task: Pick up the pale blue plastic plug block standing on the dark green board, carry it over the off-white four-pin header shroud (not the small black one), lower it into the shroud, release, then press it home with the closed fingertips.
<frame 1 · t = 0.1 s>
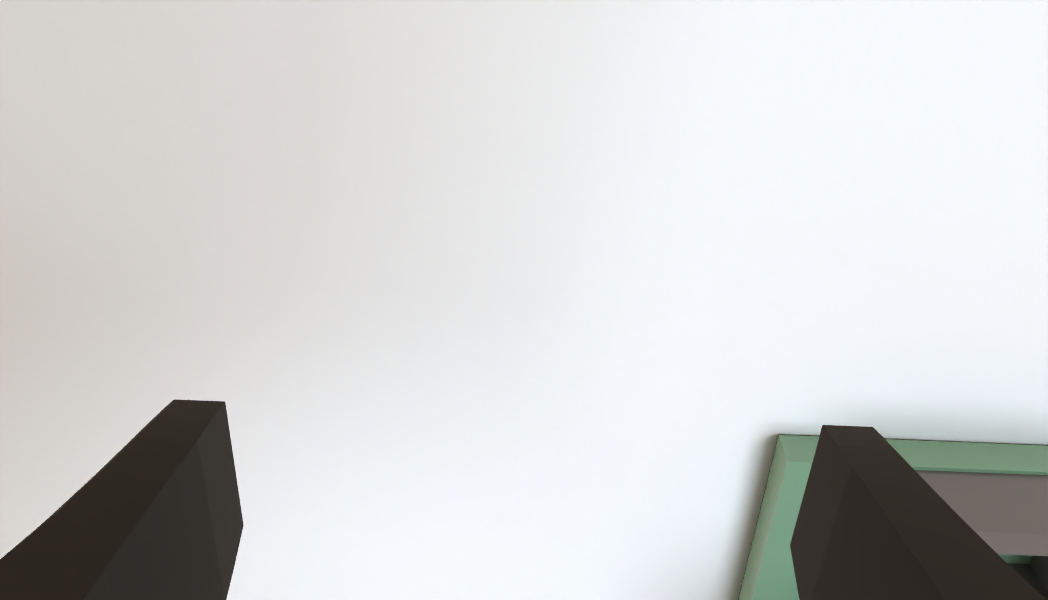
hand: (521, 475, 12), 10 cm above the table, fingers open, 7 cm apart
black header: (967, 528, 25), resting on board
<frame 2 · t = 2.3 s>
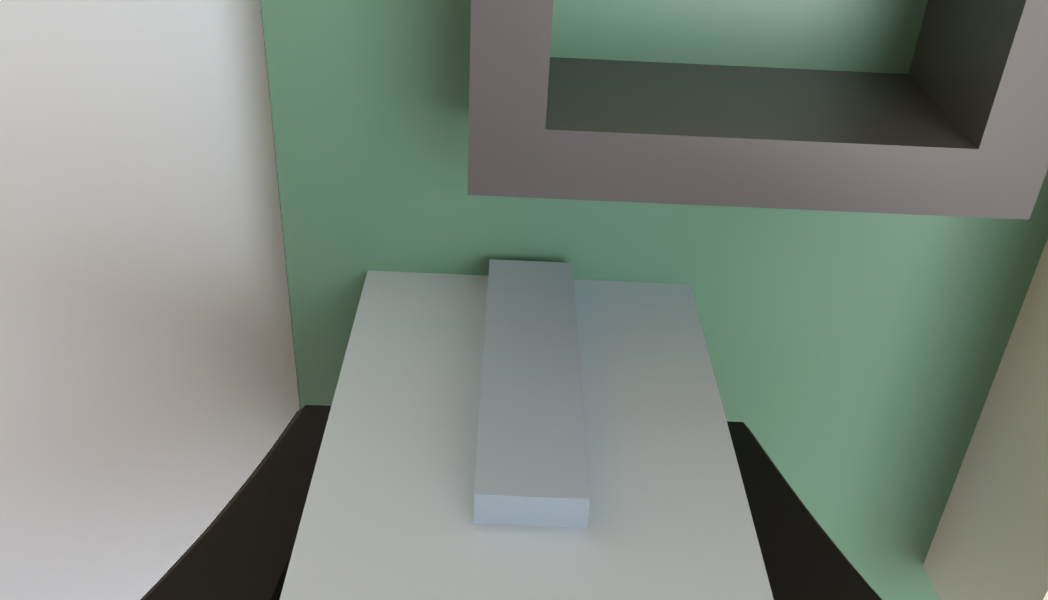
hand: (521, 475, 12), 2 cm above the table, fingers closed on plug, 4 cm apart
plug: (522, 404, 13), point 1 cm above the table, touching board, gripper
board: (948, 256, 13), on the table
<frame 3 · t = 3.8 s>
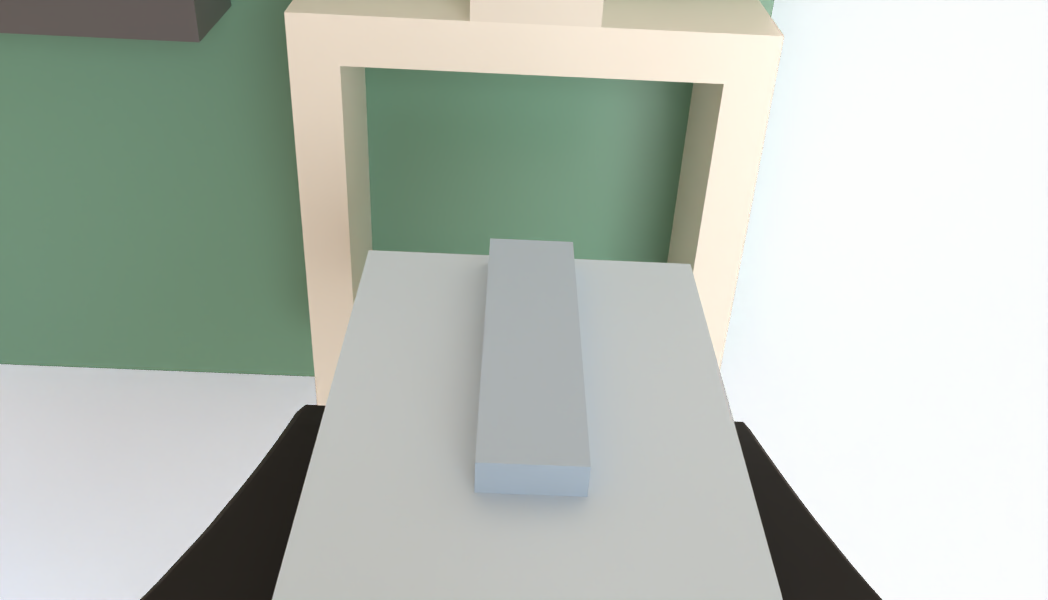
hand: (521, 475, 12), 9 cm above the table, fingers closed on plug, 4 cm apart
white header: (524, 179, 19), resting on board
plug: (522, 385, 13), point 8 cm above the table, touching gripper
board: (302, 100, 19), on the table
when the fingers open (4 cm above the table, at t = 5.1 s): plug drops 1 cm, resting on board.
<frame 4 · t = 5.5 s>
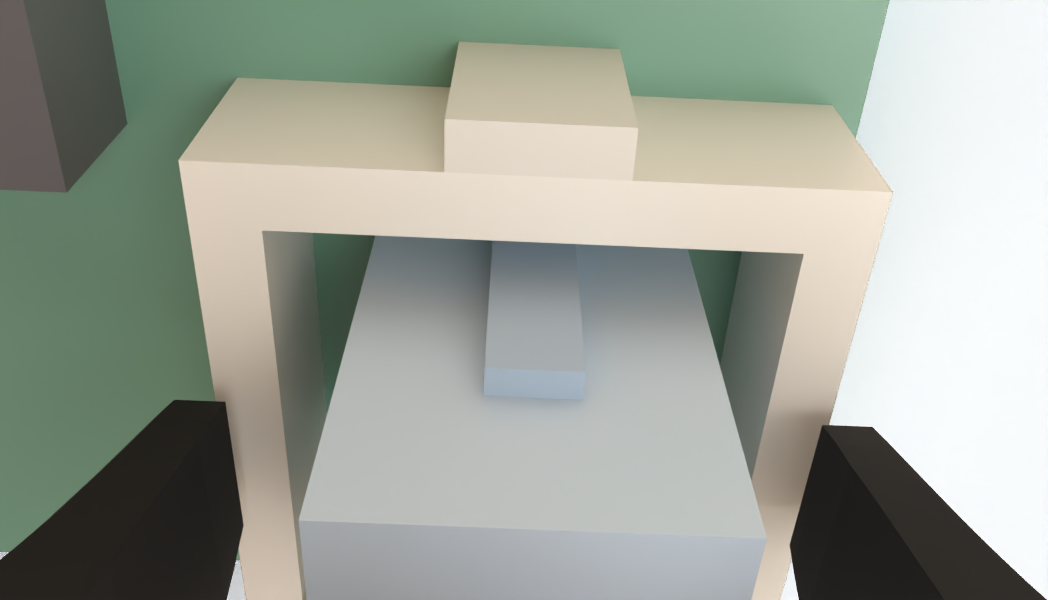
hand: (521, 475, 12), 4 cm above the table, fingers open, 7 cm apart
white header: (523, 336, 15), resting on board
plug: (524, 327, 15), point 1 cm above the table, touching board
board: (234, 231, 15), on the table
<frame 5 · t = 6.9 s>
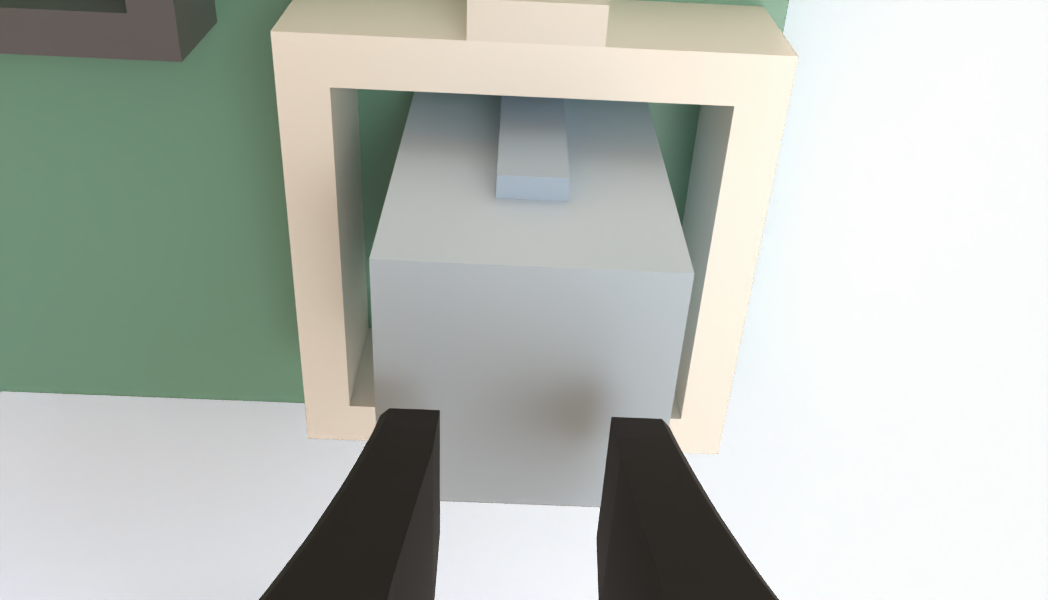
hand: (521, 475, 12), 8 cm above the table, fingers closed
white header: (524, 201, 18), resting on board
plug: (525, 193, 18), point 1 cm above the table, touching board
board: (293, 119, 19), on the table
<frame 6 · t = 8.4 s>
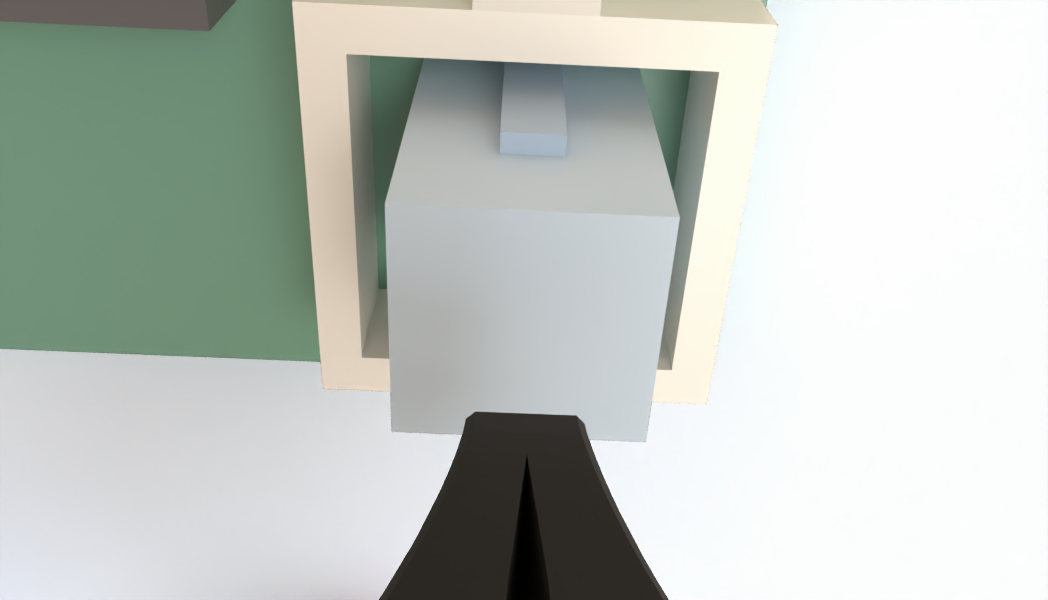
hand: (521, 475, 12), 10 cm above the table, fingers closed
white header: (525, 167, 20), resting on board
plug: (526, 159, 19), point 1 cm above the table, touching board
board: (308, 90, 20), on the table
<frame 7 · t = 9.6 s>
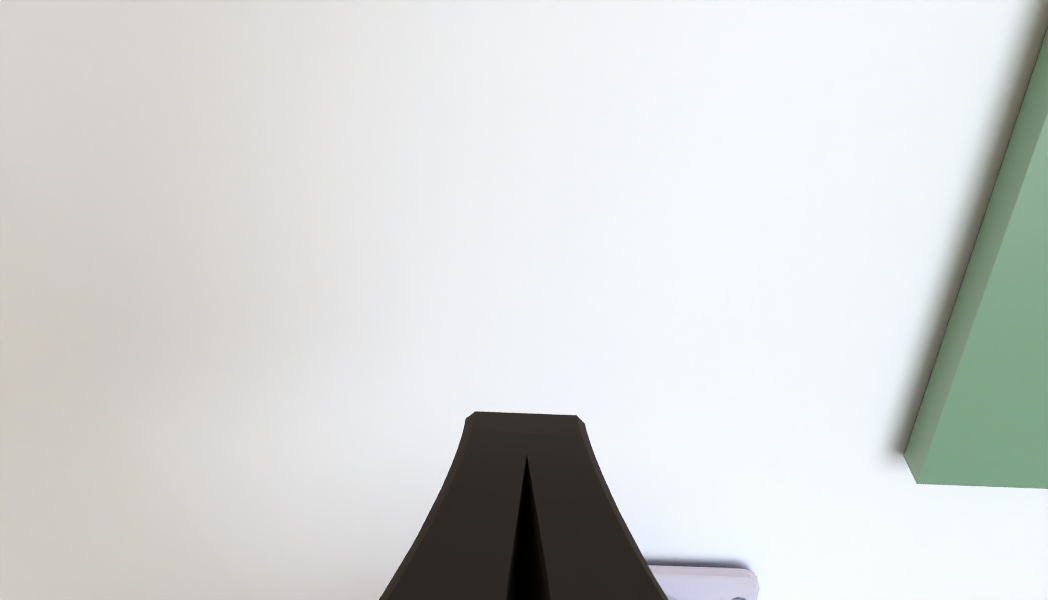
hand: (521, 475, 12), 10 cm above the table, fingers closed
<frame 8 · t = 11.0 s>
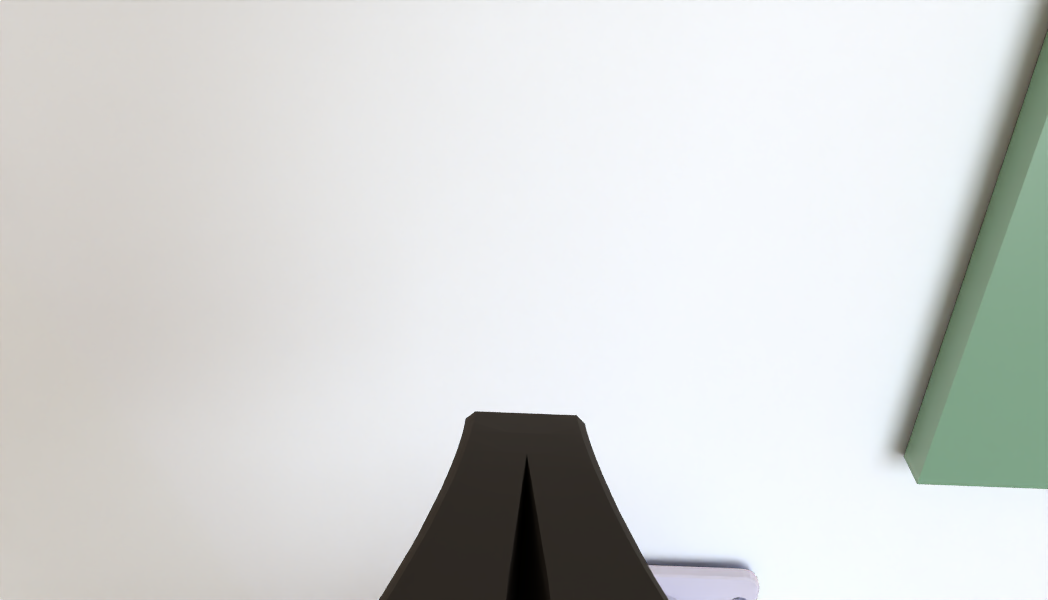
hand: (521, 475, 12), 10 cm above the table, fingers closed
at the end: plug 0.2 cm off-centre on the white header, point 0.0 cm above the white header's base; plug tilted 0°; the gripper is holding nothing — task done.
